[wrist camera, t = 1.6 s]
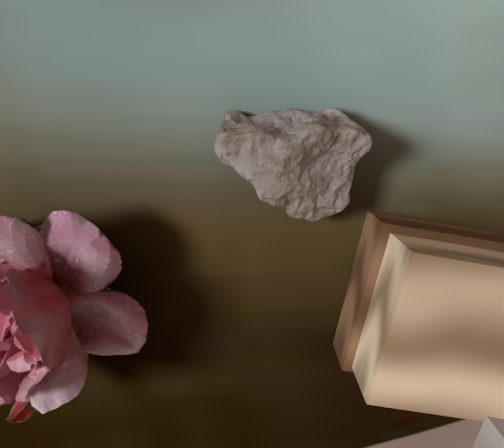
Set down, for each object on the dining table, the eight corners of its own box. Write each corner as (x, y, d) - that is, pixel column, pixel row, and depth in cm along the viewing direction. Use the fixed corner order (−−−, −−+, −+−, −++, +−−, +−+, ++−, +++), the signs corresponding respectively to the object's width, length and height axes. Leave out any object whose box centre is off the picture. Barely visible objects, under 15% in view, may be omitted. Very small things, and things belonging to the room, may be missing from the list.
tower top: (390, 232, 28) (413, 252, 24) (539, 258, 28) (585, 281, 24) (351, 367, 31) (366, 404, 27) (488, 388, 31) (521, 427, 27)
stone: (334, 219, 31) (351, 244, 25) (210, 195, 31) (199, 215, 25) (362, 115, 29) (388, 116, 23) (229, 87, 28) (221, 82, 23)
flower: (94, 163, 27) (-25, 237, 18) (185, 327, 32) (125, 441, 24) (-47, 212, 32) (-191, 287, 24) (52, 346, 38) (-35, 445, 29)
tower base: (366, 209, 31) (382, 222, 27) (511, 233, 32) (547, 250, 28) (332, 341, 34) (342, 370, 31) (464, 361, 35) (490, 392, 31)
